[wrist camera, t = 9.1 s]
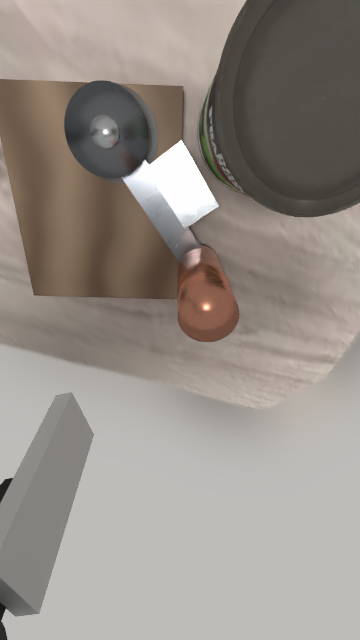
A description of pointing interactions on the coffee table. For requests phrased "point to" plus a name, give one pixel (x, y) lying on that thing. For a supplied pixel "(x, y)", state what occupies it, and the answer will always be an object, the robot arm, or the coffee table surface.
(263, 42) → the coffee can
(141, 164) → the lever
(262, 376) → the coffee table surface
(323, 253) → the coffee table surface
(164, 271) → the board
